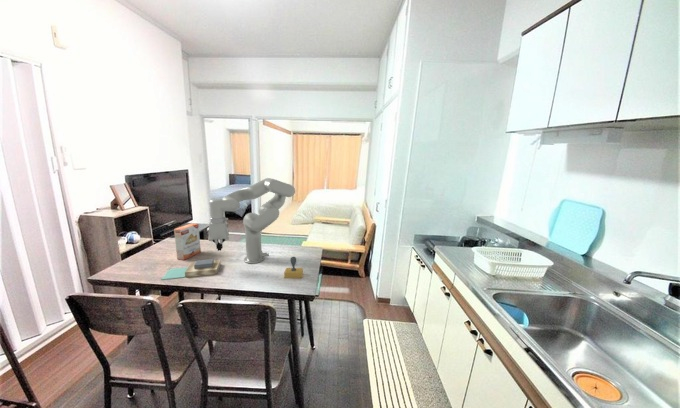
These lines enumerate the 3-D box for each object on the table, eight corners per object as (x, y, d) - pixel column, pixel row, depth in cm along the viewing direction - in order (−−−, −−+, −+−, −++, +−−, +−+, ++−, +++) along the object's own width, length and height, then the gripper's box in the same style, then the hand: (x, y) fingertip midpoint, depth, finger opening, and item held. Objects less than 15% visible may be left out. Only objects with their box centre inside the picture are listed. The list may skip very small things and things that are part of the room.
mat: (190, 267, 144) (190, 266, 144) (184, 277, 133) (184, 276, 133) (169, 269, 141) (169, 268, 141) (161, 279, 130) (161, 279, 130)
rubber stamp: (284, 278, 135) (283, 258, 133) (286, 273, 141) (285, 254, 138) (301, 278, 136) (301, 259, 133) (302, 273, 141) (302, 254, 139)
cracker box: (184, 260, 152) (180, 229, 148) (176, 259, 154) (172, 228, 149) (201, 252, 166) (198, 223, 161) (194, 250, 167) (191, 222, 162)
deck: (220, 264, 149) (220, 260, 148) (216, 273, 138) (216, 269, 137) (191, 267, 144) (191, 262, 143) (185, 277, 133) (184, 272, 132)
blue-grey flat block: (213, 262, 144) (213, 258, 144) (211, 267, 139) (211, 263, 138) (197, 264, 142) (196, 260, 141) (194, 269, 136) (194, 265, 136)
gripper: (232, 218, 143) (234, 246, 146) (205, 218, 138) (207, 248, 142) (231, 221, 136) (232, 251, 139) (201, 222, 131) (204, 253, 135)
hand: (219, 249), depth 141 cm, fingers closed
